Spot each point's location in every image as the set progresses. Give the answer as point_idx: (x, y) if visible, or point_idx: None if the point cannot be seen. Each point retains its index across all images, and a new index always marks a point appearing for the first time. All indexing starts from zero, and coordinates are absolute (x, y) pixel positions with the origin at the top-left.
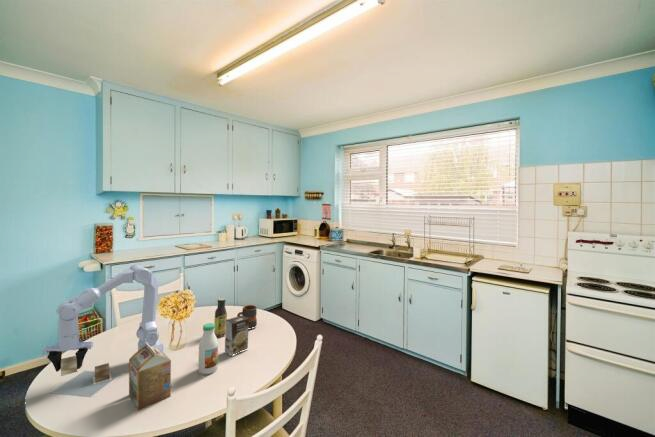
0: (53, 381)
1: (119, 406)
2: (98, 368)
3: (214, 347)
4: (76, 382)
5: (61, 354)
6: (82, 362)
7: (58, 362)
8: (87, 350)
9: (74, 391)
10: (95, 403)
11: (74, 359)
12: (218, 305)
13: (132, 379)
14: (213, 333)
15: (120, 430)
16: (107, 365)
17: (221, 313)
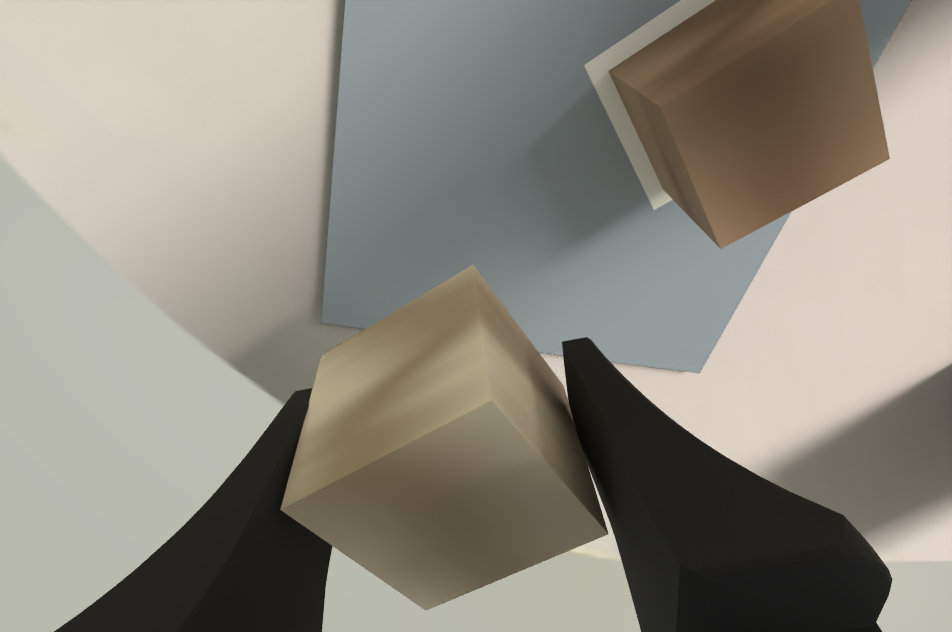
0: (130, 94)
1: (907, 435)
2: (734, 162)
3: None
4: (451, 166)
5: (233, 568)
6: (611, 368)
7: (307, 535)
8: (780, 487)
9: (530, 309)
10: (749, 410)
11: (548, 516)
12: None
13: None
14: None
15: (920, 557)
16: (849, 79)
17: None
